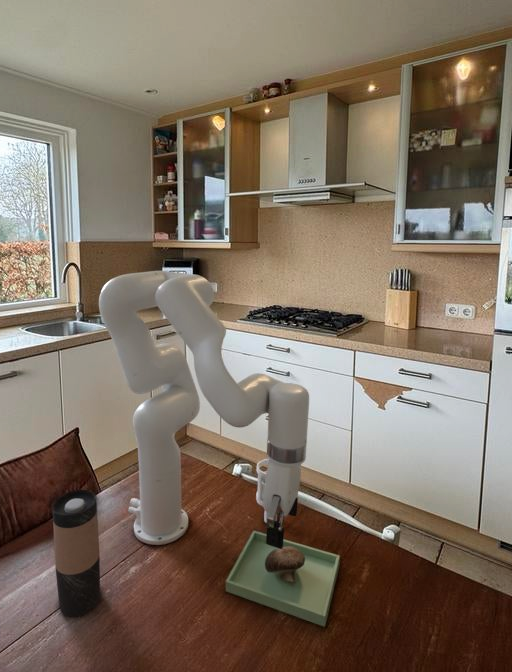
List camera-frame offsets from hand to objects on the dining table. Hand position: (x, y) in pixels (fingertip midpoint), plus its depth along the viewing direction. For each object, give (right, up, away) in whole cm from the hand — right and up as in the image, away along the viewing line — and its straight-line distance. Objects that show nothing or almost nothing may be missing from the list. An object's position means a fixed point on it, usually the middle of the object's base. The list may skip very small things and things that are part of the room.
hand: (282, 528), depth 84 cm
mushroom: (+1, -10, +1) cm, 10 cm away
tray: (+1, -10, +1) cm, 10 cm away
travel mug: (-38, -11, -4) cm, 40 cm away
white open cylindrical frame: (-1, -8, +18) cm, 20 cm away
